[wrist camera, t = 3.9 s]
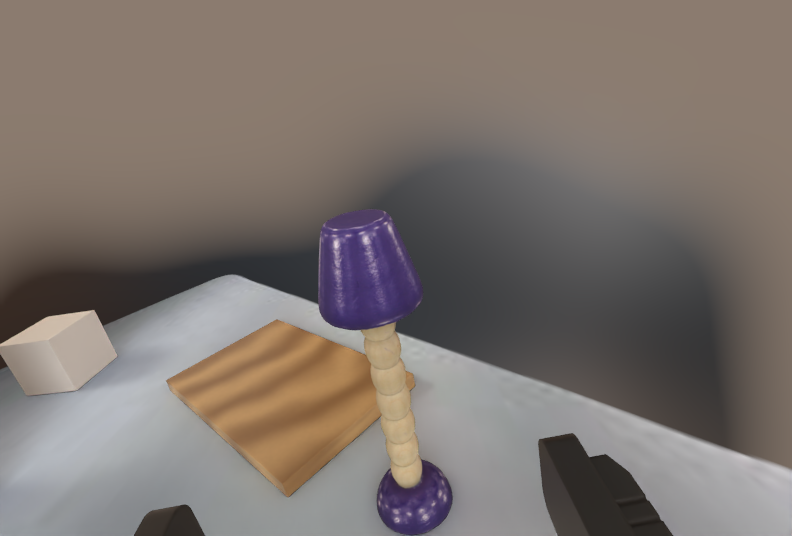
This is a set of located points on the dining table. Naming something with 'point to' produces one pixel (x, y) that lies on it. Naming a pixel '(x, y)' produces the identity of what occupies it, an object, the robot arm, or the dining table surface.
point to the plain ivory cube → (58, 353)
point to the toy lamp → (383, 353)
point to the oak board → (283, 400)
